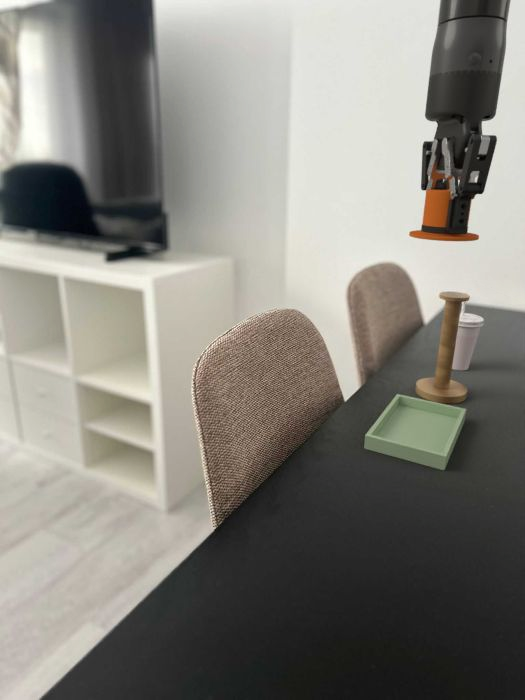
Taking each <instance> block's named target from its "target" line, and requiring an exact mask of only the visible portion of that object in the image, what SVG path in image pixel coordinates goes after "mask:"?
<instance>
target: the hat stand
mask: <svg viewBox="0 0 525 700" xmlns="http://www.w3.org/2000/svg"><path fill="white" fill-rule="evenodd" d="M465 293H466V292H460V291H441V292H439V295H438V298H439V299H441V300H443V301H444V309H443V315H442V321H441V322H442V323H441V331H440V336H439V344H438V351H437V352H438V353H437V359H436V367H435V373H434V376H432V377H423V378H420V379H418V380H417V381H416V383H415V388H414V389H415V394H417V395H418V396H419V397H421V399H423V400H427V401H432V402H436V403H441V404H446V405H449V404H452V405H453V404H458V403H462V402H464V401H465V400H466V399H467V397H468V388H467V387H466V386H465V385H464V384H462V383H461V382H458V381H456V380H453V379H451V377H452V373H453V372H452V371H453V369H452V365H453V358H454V352H455V345H456V338H457V331H458V325H459V318H460V313H461V310H462V303H463V302H466V303H467V302H469V301H470V298H471V296H470V295H469V294H468V293H467V294H465Z"/></svg>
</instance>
